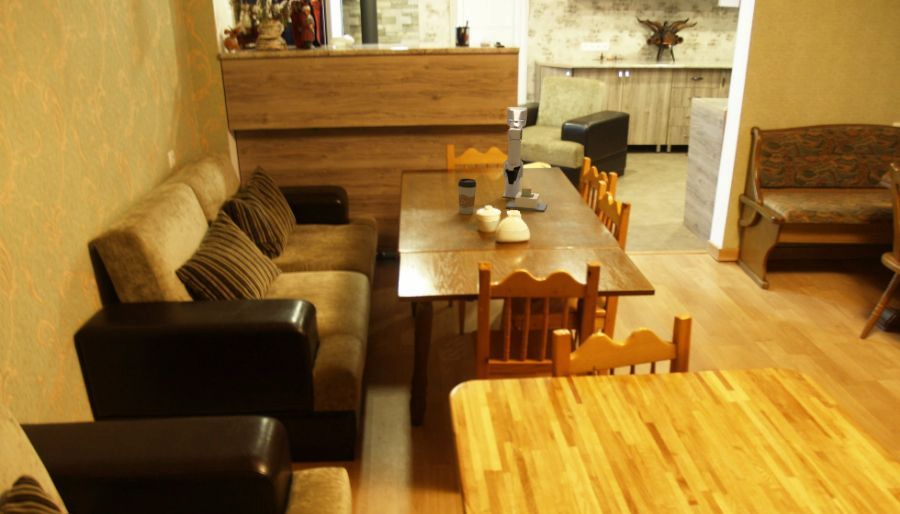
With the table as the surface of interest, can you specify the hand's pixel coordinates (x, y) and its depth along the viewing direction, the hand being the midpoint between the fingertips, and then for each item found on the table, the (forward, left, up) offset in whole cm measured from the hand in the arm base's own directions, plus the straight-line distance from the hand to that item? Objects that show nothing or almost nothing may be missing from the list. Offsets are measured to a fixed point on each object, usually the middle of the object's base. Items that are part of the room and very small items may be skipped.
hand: (512, 182), depth 327 cm
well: (+2, +8, -10) cm, 13 cm away
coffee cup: (+21, -17, -11) cm, 29 cm away
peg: (+2, +7, -9) cm, 12 cm away
